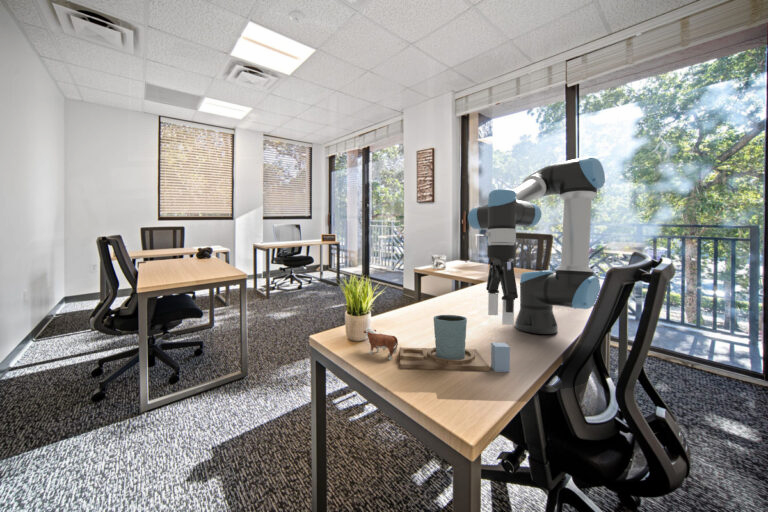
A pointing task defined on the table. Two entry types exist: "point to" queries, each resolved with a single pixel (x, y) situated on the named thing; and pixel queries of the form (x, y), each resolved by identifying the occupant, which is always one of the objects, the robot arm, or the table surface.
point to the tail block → (500, 357)
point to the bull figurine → (381, 341)
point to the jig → (440, 360)
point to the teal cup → (450, 336)
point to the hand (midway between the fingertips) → (499, 319)
